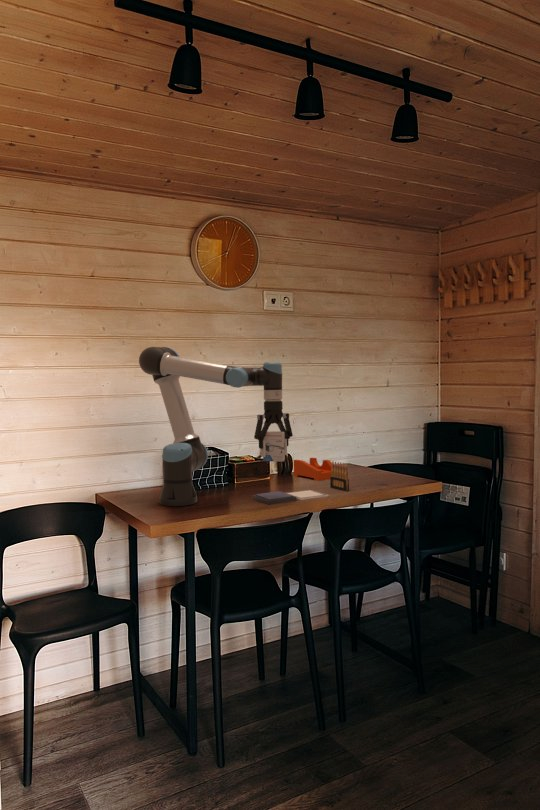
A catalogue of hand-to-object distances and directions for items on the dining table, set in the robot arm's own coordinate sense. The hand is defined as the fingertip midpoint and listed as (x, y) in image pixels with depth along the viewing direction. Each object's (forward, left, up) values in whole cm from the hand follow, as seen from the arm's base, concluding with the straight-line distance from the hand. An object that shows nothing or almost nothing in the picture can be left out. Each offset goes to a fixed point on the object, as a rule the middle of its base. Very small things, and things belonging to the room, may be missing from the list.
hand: (273, 455), depth 258 cm
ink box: (0, 0, -2) cm, 2 cm away
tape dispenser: (+44, +35, -19) cm, 59 cm away
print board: (+15, 0, -18) cm, 24 cm away
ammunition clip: (+35, +3, -18) cm, 40 cm away
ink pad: (0, 0, -18) cm, 18 cm away
